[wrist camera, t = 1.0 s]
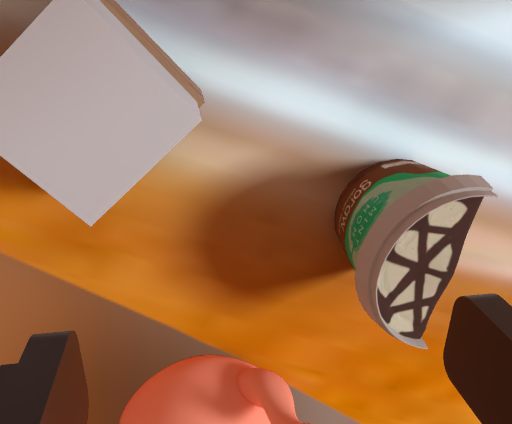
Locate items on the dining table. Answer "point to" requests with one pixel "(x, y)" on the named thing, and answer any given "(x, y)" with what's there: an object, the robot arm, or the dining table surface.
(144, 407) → the teapot
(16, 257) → the dining table surface
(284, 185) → the dining table surface
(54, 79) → the top slab
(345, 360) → the dining table surface
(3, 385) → the robot arm
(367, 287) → the food container
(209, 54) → the dining table surface
